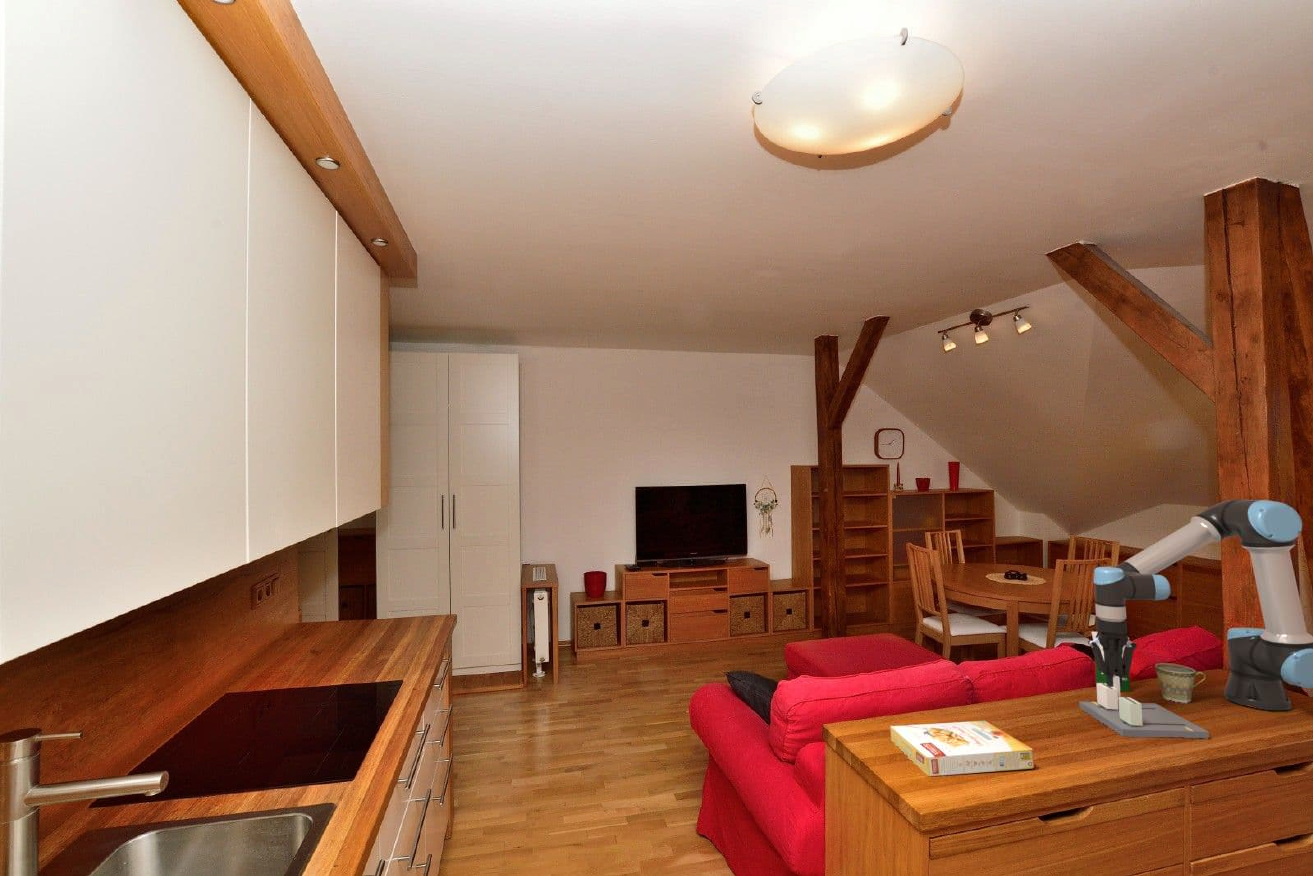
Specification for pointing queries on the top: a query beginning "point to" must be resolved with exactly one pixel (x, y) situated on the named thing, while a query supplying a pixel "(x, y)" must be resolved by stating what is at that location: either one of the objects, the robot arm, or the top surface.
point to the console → (1146, 722)
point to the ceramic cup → (1176, 681)
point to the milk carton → (1102, 677)
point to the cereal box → (961, 748)
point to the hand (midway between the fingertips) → (1115, 697)
